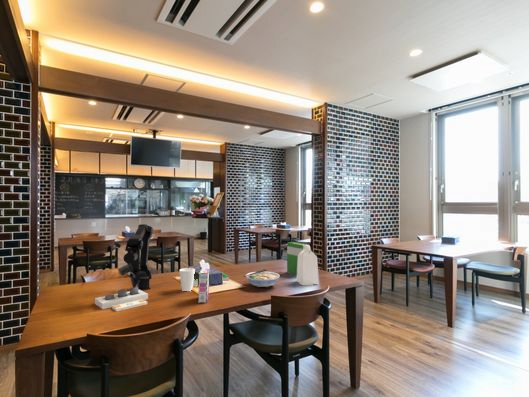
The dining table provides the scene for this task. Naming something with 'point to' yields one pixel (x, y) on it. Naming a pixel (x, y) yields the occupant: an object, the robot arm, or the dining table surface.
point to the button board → (120, 299)
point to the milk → (307, 267)
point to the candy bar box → (203, 286)
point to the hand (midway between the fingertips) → (134, 287)
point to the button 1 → (109, 297)
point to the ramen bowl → (262, 278)
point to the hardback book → (293, 255)
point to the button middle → (122, 293)
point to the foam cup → (187, 278)
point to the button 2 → (133, 291)
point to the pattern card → (129, 305)
